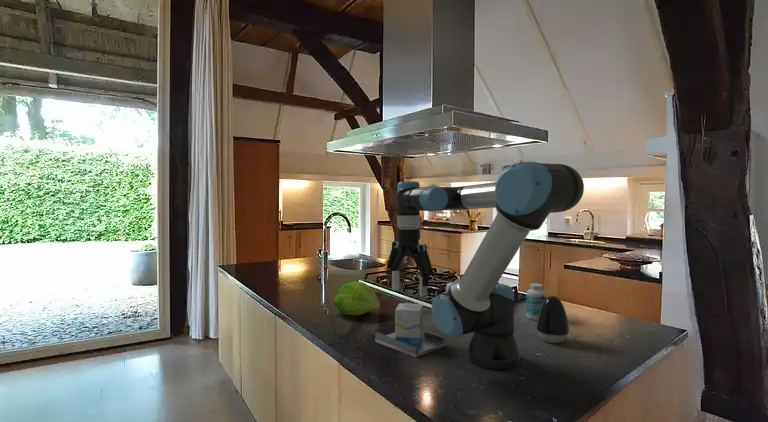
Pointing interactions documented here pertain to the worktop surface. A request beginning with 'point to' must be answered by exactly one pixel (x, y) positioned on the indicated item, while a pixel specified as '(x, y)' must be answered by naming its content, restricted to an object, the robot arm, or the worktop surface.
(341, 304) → the lettuce
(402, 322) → the ink box
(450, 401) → the worktop surface
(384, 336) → the rail board
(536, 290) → the pill bottle
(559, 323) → the black rounded dome
